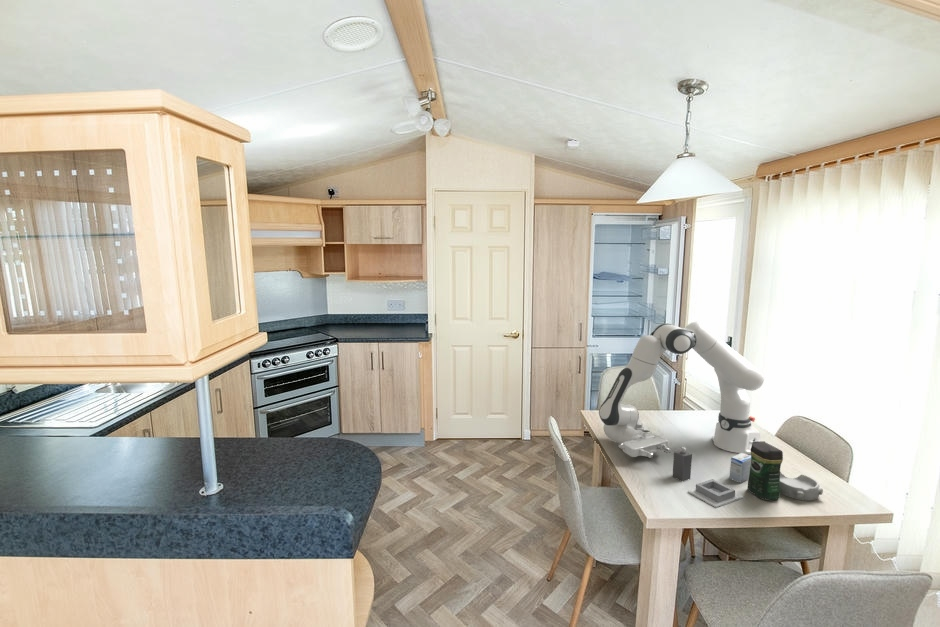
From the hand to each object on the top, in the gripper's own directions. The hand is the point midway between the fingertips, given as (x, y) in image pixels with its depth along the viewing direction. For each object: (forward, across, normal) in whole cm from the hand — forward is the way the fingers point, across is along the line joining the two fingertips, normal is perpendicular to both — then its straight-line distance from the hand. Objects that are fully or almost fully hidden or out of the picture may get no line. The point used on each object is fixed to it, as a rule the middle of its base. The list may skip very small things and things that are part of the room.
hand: (660, 453), depth 182 cm
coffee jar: (+31, +16, +6) cm, 36 cm away
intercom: (-42, +22, +6) cm, 48 cm away
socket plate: (+24, 0, +6) cm, 25 cm away
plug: (+10, 0, +6) cm, 12 cm away
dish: (+35, +28, +6) cm, 45 cm away
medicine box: (+20, +20, +6) cm, 29 cm away
